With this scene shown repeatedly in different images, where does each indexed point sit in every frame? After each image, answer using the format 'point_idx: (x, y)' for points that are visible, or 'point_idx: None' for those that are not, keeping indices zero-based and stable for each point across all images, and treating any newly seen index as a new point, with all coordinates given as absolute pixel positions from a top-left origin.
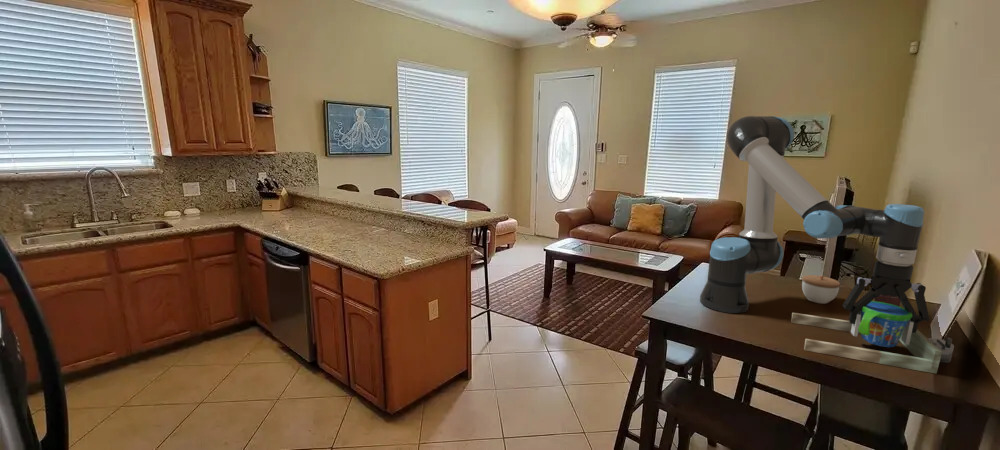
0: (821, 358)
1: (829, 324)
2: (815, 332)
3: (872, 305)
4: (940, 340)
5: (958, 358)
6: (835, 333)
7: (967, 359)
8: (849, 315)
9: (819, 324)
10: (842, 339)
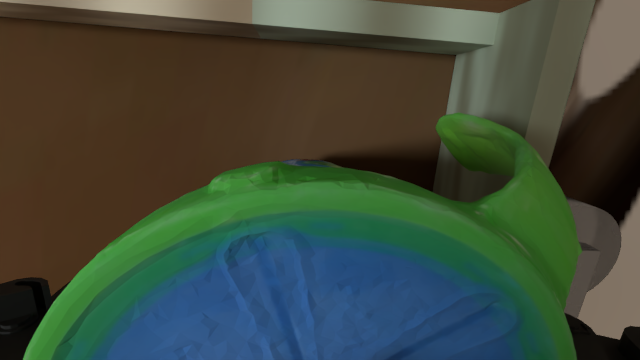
0: None
1: (106, 19)
2: (44, 126)
3: (207, 334)
4: (577, 273)
5: (592, 189)
6: (151, 96)
7: (621, 185)
8: (63, 287)
9: (53, 17)
10: (172, 170)
